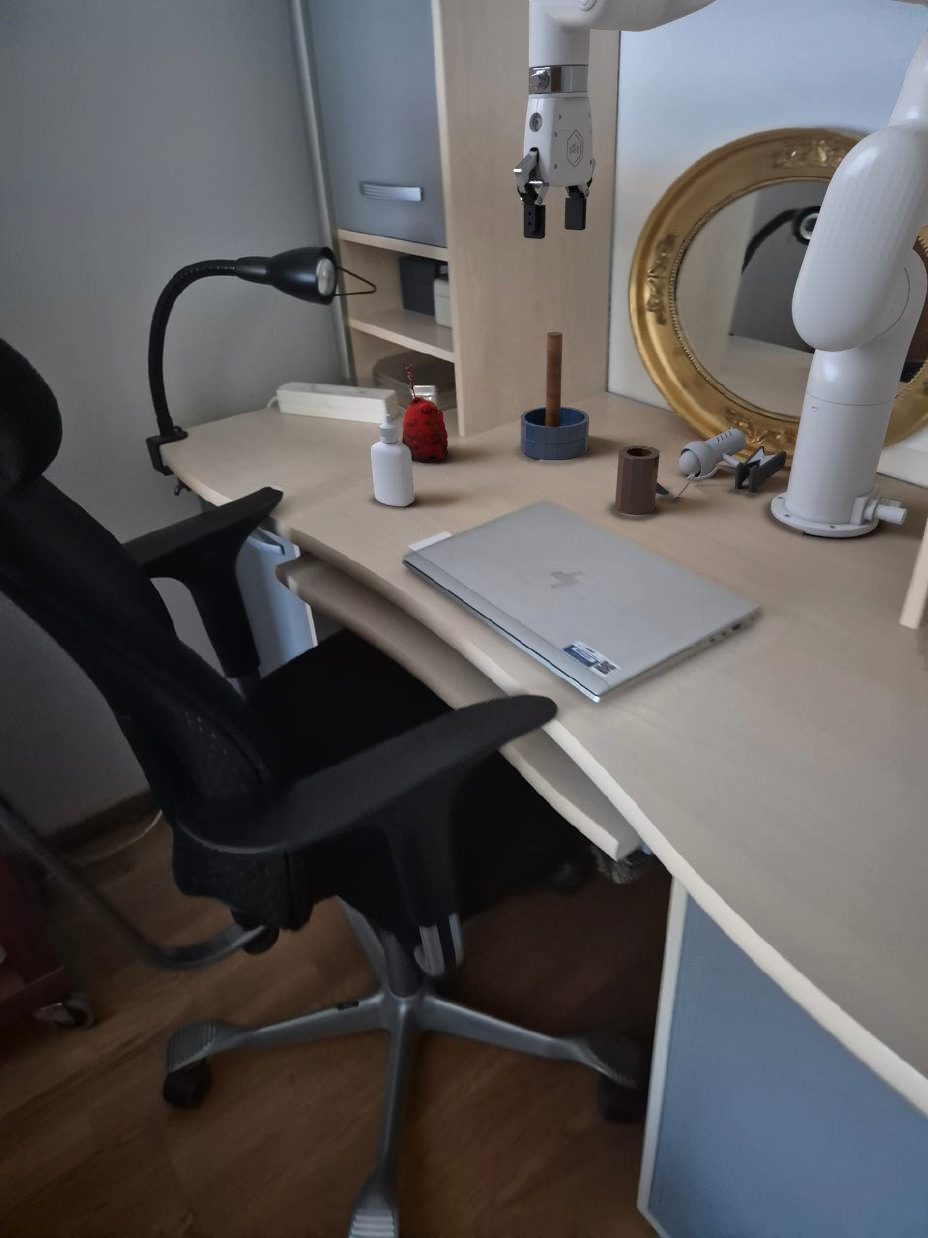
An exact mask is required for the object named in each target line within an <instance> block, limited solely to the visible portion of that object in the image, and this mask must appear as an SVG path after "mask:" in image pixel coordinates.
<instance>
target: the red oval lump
mask: <svg viewBox="0 0 928 1238" xmlns="http://www.w3.org/2000/svg"><path fill="white" fill-rule="evenodd" d="M401 363H402V365H403V366H404V367H405V368H406V369H402V370H400V373H403V372H407V378H408V380H409V389H410V390H411V391H412V394H413V398H412V399H411V400H410V404H409V405H408V407H406V410H405V412H404V416H403V422H402V427H403V428H402V438H401V442H402V443H403V444H405V445H406V446H407V447H408V448H409V450H410V452H411V460H412V461H415V462H421V463H431V462H432V461H435V462H441V461H443V460H444V459H445V457H446V456H447V455H448V454H449V450H448V447H449V441H448V438H449V436H448V435H449V434H448V431H447V429H446V424H445V421H444V419H445V418H444V412H443V411H442V410H440V409H438V406H437V405H436V403H435V402H434V401H432V400H429V399H425V398H424V397H423V396H416V393H415V389H414V388H415V383H414V382H413V381H412V380H413V377H414V376H413V374H412V373H411V368H412V366H413V363H411V364H410V365H409V366H408V365H407V364H406V363H405V361H404V360H401Z"/></svg>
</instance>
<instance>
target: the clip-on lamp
mask: <svg viewBox="0 0 928 1238" xmlns="http://www.w3.org/2000/svg"><path fill="white" fill-rule="evenodd" d="M746 445H747V437H746V435H745V433H744V432H743V431H742V430H741V429H738V428H734V427H733V428H730V429H728V430H726V431H724V432H721V433H720V434H718V435H716V436H714V437H711V438H710V439H707V440H705V441H703V440H702V441H701V440H694V441H690V442H689V443H687V444H686V445H685V446H683V447H682V449H681V450H680V452H679V460H678V465H679V469H680V470H681V471H682V472H683V473H684V474H686V475H688V476H687V477H686V479H687V481H688V482H687V483H686V485H685V486H684V488H683V489H682V490H681V491H680V492H679V493H678V494H676V495H675V496H673V498H678V497H680V496H681V495H682V494H683V493H684V491H686V489H687V488H688V487H689V485H690V484H691V483H692V482H696V481H703V480H705V479H709V478H710V477H712V476H714V475H715V473H716V472H717V471H718V470H722V471H725V472H727V473H731V474H735V476H734V489H736V490H739V489H740V488H742V487H743V484H744V482H745V481H746V480H747V479H748V491H747V492H748V493H753V492H755V491H757V490H758V487H759V486H760V485H761V484H763V483H764V482H766V481H767V480H768V479H770V478H771V477H772V476H774V475H775V474H777V473H778V472H779V471H781V470H782V469H783V468H784V467H785V466H786V463H787V455H788V454H787V451H786V450H780V451H779V452H778V453H776V454H770V455H766V454H765V446H764V445H759V446H758V447H757V448H756V450H755V451H754V452H753V453H752V454H751V455H750V456H749V457H748V458H747V459H746V460H745V461H744V462H741V461H740V460H737V459H736V458H734V457H733V456H734V455H736V454H738V453H740V452H742V451H743V450H744V449H745V447H746ZM721 462H725V463H727V464H728V465H730V466H732V467H734V468H735V469H733V468H729V467H727V466H725V465H722V464H721V465H720V464H719V463H721ZM717 464H719V465H717ZM697 474H699V475H698V476H696V475H697ZM656 494H658V495H661V496H667V495H668V494H669V490H668V489H666V488H665V487H664V486H663V485H661V484H660V483H659V482H658V481H657V487H656Z"/></svg>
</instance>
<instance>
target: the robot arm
mask: <svg viewBox="0 0 928 1238" xmlns="http://www.w3.org/2000/svg"><path fill="white" fill-rule="evenodd" d="M716 1H717V0H528V99H527V107H526V113H525V114H526V116H525V122H524V123H525V124H524V125H525V126H524V138H523V158H522V159H521V160H520V161H519V162H518V164H517V165H516V166H515V167H514V169H513V176H514V179H515V183H516V192H517V193H518V195H519V197H520V204H521V205H522V206H523V237H524V239H536V240H542V239H545V237H546V223H547V222H546V221H547V220H546V214H547V213H546V211H547V209H546V207H547V205H546V204H543V202H544V200H545V198H546V195H547V193H548V191H549V188H550V187H552V188H555V189H556V188H565V191H566V193H567V195H568V197H565V200H564V229H565V230H566V231H585V230H586V228H587V227H586V225H587V201H588V198H589V196H590V187H591V185H592V183H593V175H594V171H595V168H596V164H597V163H596V162H597V161H596V159H595V158H594V157H593V156H594V155H593V153H594V151H593V149H594V148H593V145H594V144H593V120H592V119H593V117H592V116H593V115H592V108H591V107H592V106H591V101H590V100H591V99H590V96H589V74H590V71H589V70H590V46H591V44H590V43H591V30H597V31H620V32H630V33H631V32H634V33H638V32H639V33H641V32H646V31H650V30H654V29H656V28H659V27H662V26H665V25H667V24H670V23H672V22H675V21H677V20H679V19H682V18H685V17H688V16H689V15H692V14H694V13H696V12H698V11H701V10H702V9H704V8H706V7H708V6H709V5H711V4H713V3H714V2H716ZM891 1H893V2H899V3H905V4H911V5H912V4H913V5H922V6H923V7H925V8H926V9H928V0H891ZM905 73H906V74H905V76H904V79H903V81H902V82H903V83H902V86H901V89H900V92H899V95H898V98H897V101H896V103H895V105H894V108H893V111H892V112H891V113H892V114H891V116H890V118H889V121H888V122H887V124H886V127H883V128H881V129H880V128H879V129H878V130H876V131H874V132H872V133H870V134H868V135H867V136H865V137H863V138H862V139H861V140H860V141H859V142H857V143H856V144H855V145H854V146H853V147H852V148H851V149H850V150H849V151H848V152H847V153H846V155H845V156H844V157H843V159H842V160H841V162H840V163H839V165H838V167H837V168H836V170H835V172H834V174H833V175H832V177H831V180H830V182H829V184H828V186H827V190H826V192H825V195H824V198H823V200H822V203H821V206H820V210H819V212H818V214H817V215H818V216H817V219H816V222H815V224H814V227H813V231H812V234H811V237H810V239H809V242H808V245H807V249H806V251H805V254H804V258H803V260H802V264H801V266H800V269H799V273H798V276H797V279H796V283H795V286H794V290H793V294H792V300H791V316H792V322H793V325H794V328H795V330H796V332H797V334H798V335H799V337H800V338H801V340H803V341H804V342H805V343H806V344H807V345H808V346H810V347H811V348H813V349H814V354H813V357H812V361H811V364H810V369H809V373H808V378H807V384H806V388H805V392H804V398H803V403H802V409H801V414H800V419H799V424H798V431H797V435H796V441H795V446H794V450H793V457H792V462H791V467H790V472H789V478H788V484H787V489H786V491H785V492H782V493H780V494H778V495H775V497H774V498H773V499H772V500H771V504H770V512H771V514H772V515H773V516H774V517H775V518H776V519H777V520H778V521H780V522H782V523H783V524H785V525H788V526H790V527H792V528H795V529H798V530H802V533H804V534H808V535H812V536H818V537H827V538H851V537H857V536H863V535H866V534H868V533H870V532H872V531H873V530H875V529H876V528H877V526H878V525H879V521H880V520H881V521H885V522H887V523H891V524H895V525H898V526H902V525H903V524H904V522H905V520H906V518H907V515H908V514H907V513H908V509H907V508H902V506H903V505H902V504H903V502H902V501H899V500H894V499H887V498H883V496H882V495H881V494H879V491H880V487H881V484H879V483H875V481H876V480H875V479H876V476H877V472H878V467H879V464H880V460H881V456H882V451H883V448H884V443H885V439H886V435H887V431H888V427H889V423H890V420H891V415H892V411H893V407H894V402H895V399H896V396H897V393H898V392H897V391H898V388H899V384H900V381H901V376H902V372H903V370H904V369H903V368H904V366H905V362H906V358H907V355H908V351H909V349H910V346H911V342H912V340H913V338H914V335H915V332H916V329H917V326H918V323H919V320H920V318H921V315H922V312H923V309H924V305H925V301H926V297H927V292H928V274H927V273H928V272H927V268H926V266H925V263H924V261H923V260H922V258H921V256H920V255H919V253H918V252H917V251H915V250H914V247H915V243H916V241H917V238H918V236H919V234H920V231H921V229H922V228H924V227H926V226H928V27H927V28H926V31H925V33H924V35H923V37H922V40H921V41H920V43H919V45H918V47H917V48H916V51H915V52H914V55H913V57H912V58H911V61H910V63H909V66H908V68H907V71H906V72H905ZM536 190H537V191H536Z"/></svg>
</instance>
